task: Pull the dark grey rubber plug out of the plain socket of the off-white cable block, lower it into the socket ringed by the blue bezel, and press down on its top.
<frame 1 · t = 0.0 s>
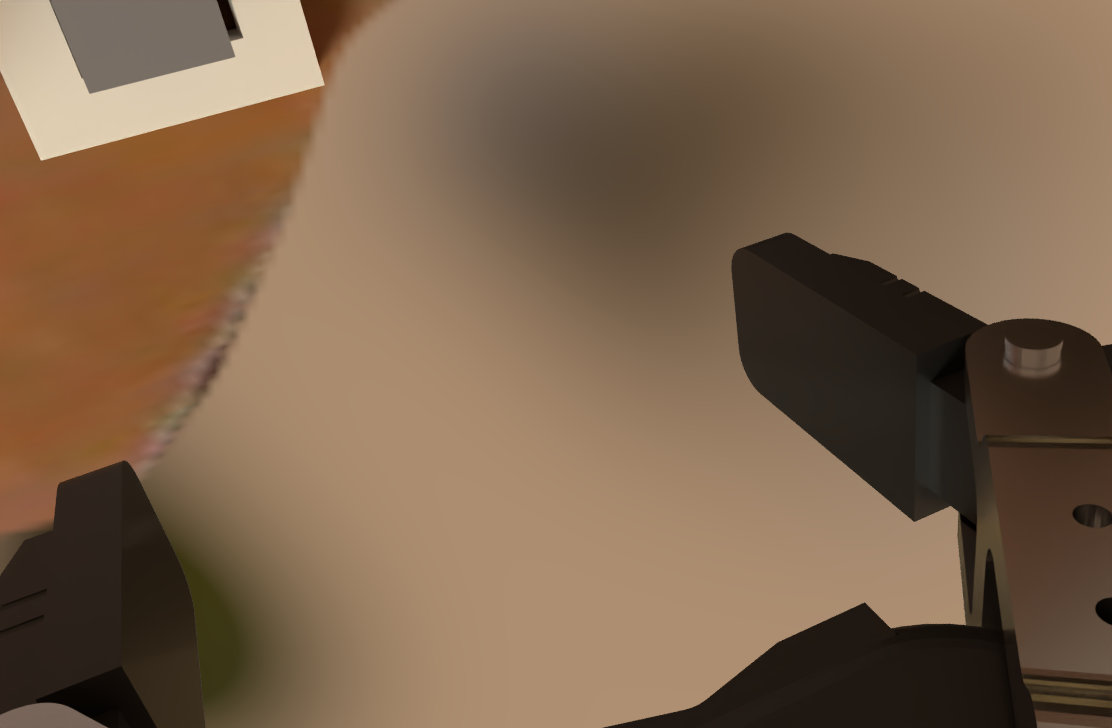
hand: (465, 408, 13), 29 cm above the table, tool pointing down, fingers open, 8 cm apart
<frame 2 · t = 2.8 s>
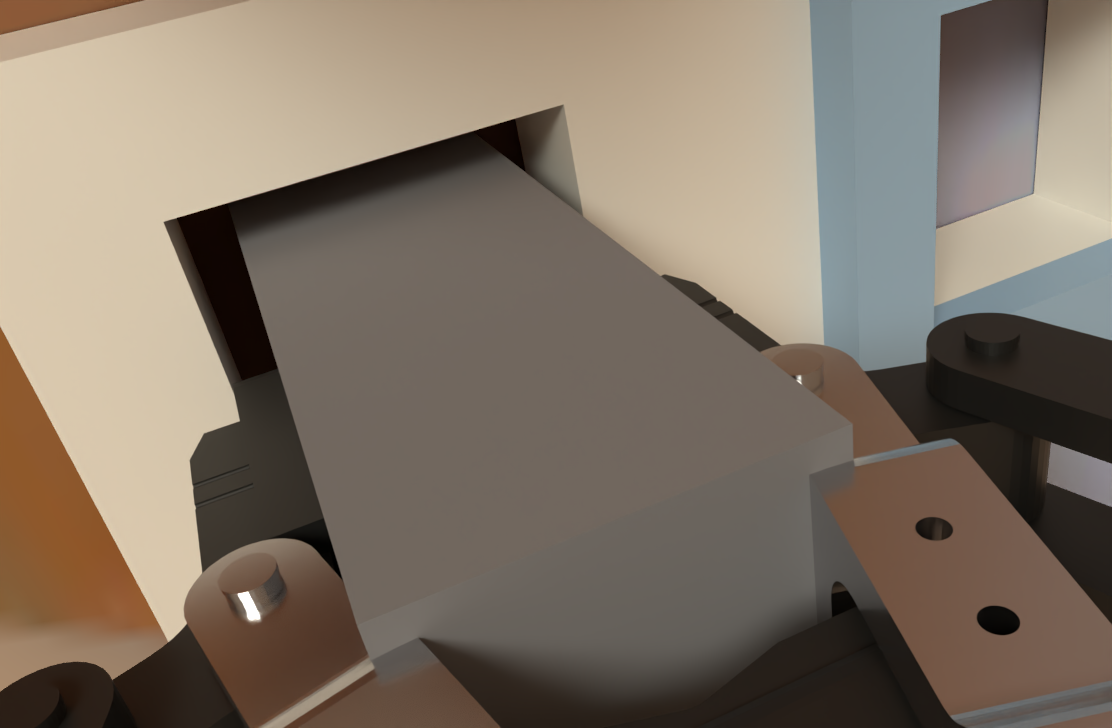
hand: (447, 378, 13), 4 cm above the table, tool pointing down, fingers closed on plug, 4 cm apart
plug: (387, 279, 16), resting in socket block, touching gripper
socket block: (677, 184, 18), on the table
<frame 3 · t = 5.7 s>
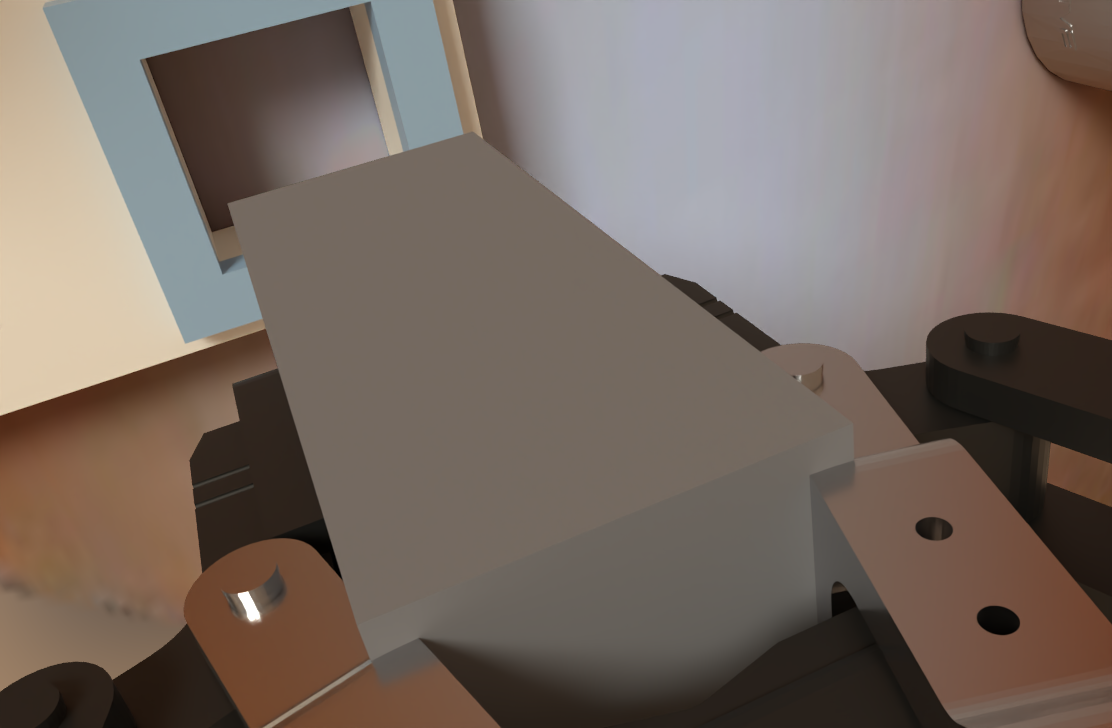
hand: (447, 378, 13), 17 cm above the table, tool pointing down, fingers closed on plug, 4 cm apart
plug: (387, 279, 16), point 13 cm above the table, touching gripper
socket block: (72, 168, 26), on the table
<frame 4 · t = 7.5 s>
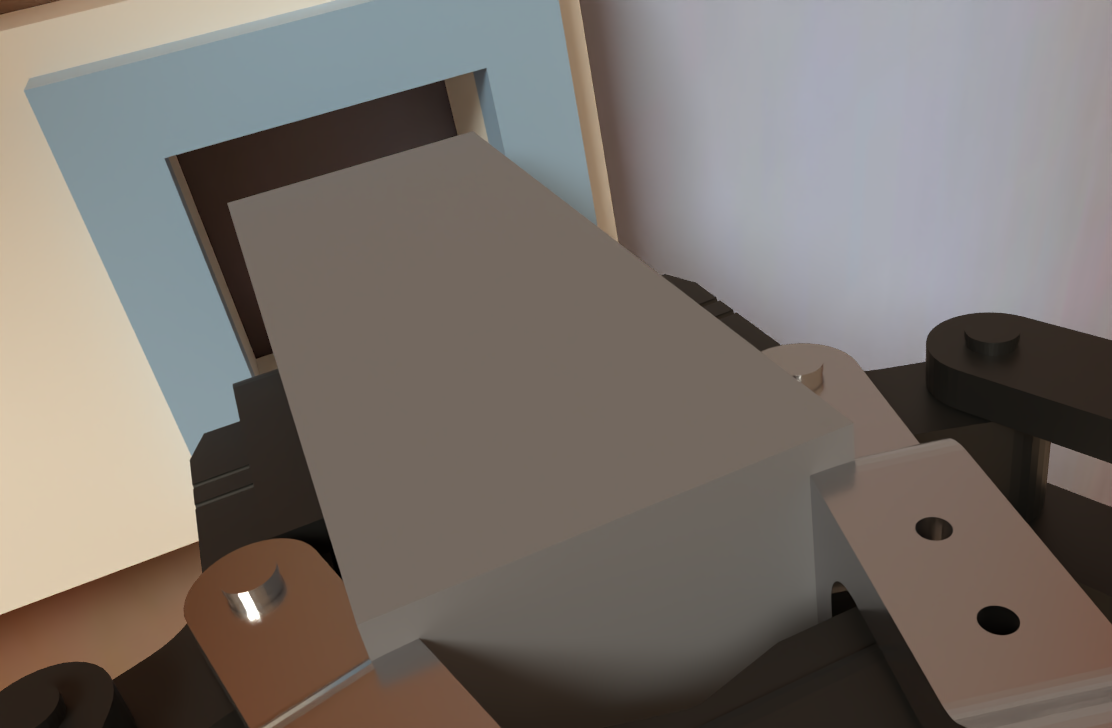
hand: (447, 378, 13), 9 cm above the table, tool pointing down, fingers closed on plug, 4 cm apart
plug: (387, 279, 16), point 5 cm above the table, touching gripper
socket block: (71, 286, 19), on the table
when the fingers open (5 cm above the table, at t = 8.8 s): plug drops 1 cm, resting in socket block.
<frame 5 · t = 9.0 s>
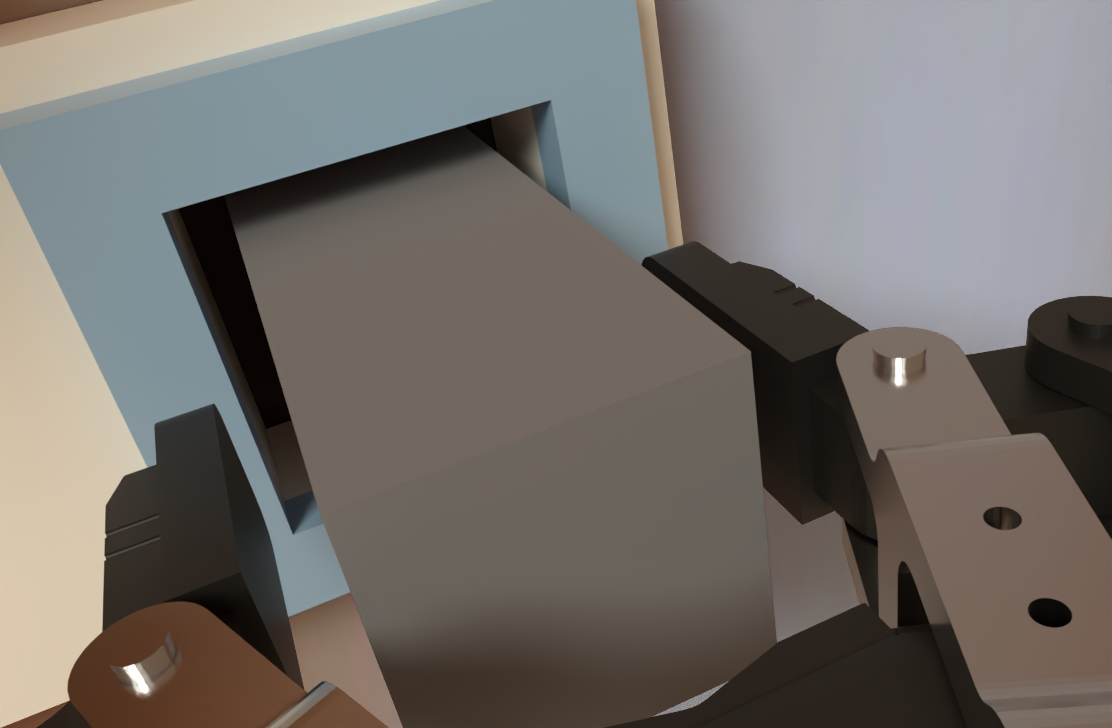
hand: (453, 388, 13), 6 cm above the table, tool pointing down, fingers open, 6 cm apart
plug: (368, 251, 18), resting in socket block
socket block: (50, 352, 16), on the table
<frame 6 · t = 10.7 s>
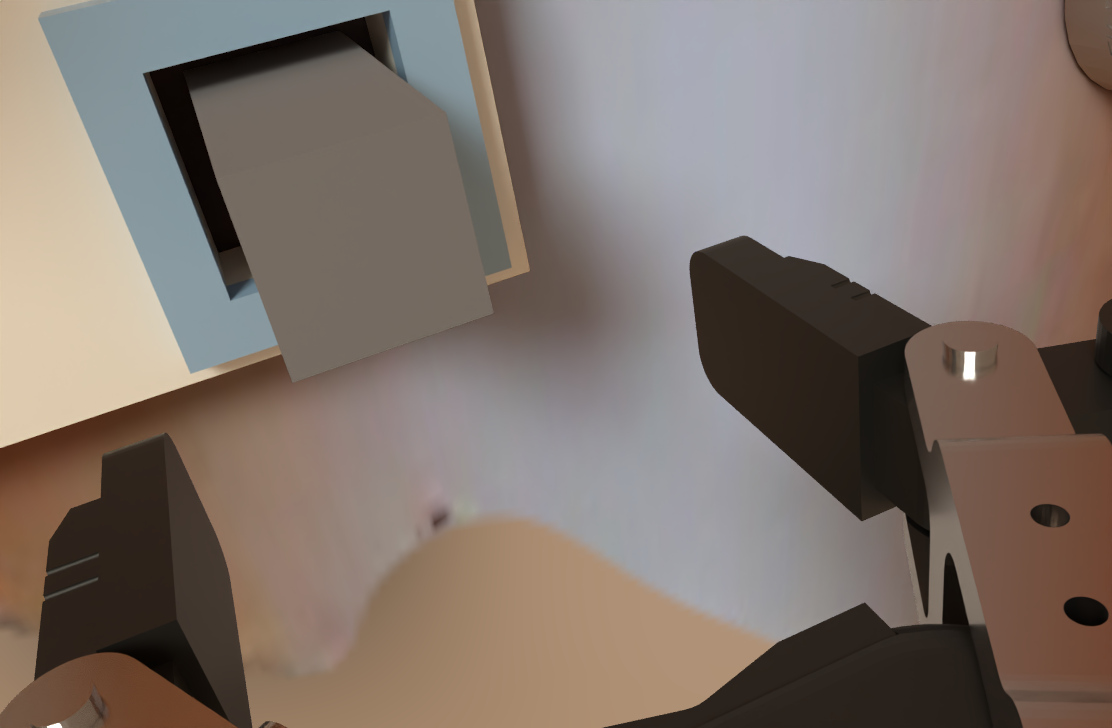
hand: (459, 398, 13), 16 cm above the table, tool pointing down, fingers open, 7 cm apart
plug: (287, 126, 26), resting in socket block
socket block: (70, 186, 25), on the table
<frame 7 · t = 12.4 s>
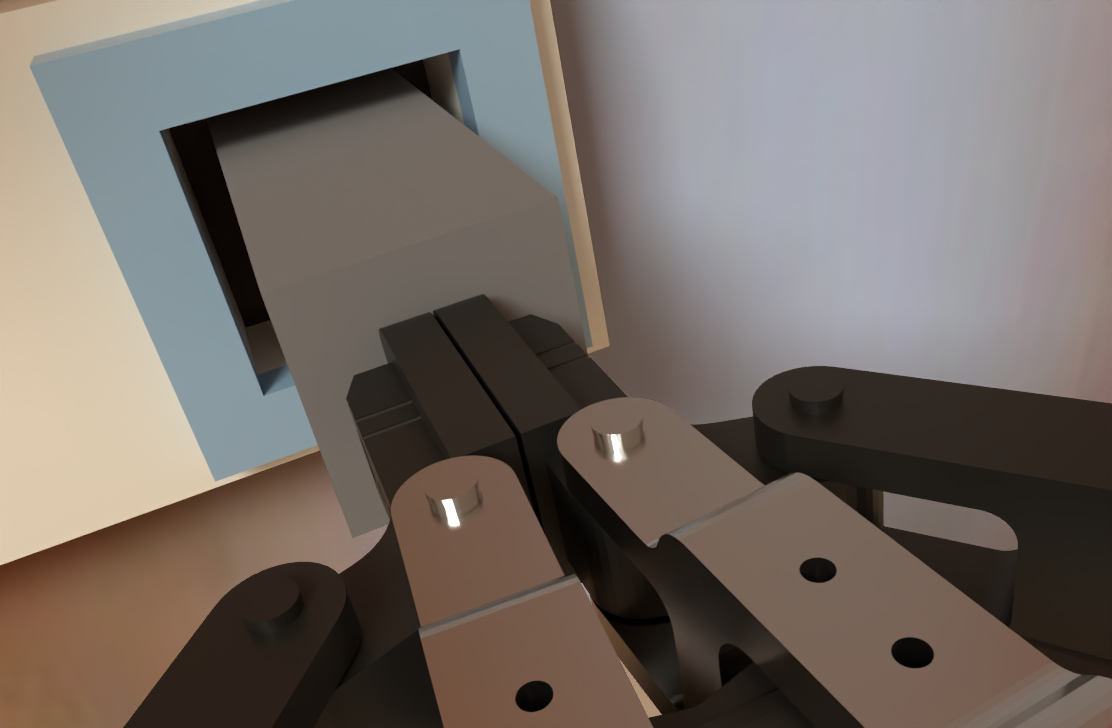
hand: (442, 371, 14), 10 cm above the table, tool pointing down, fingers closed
plug: (328, 180, 22), resting in socket block, touching gripper
socket block: (71, 256, 21), on the table
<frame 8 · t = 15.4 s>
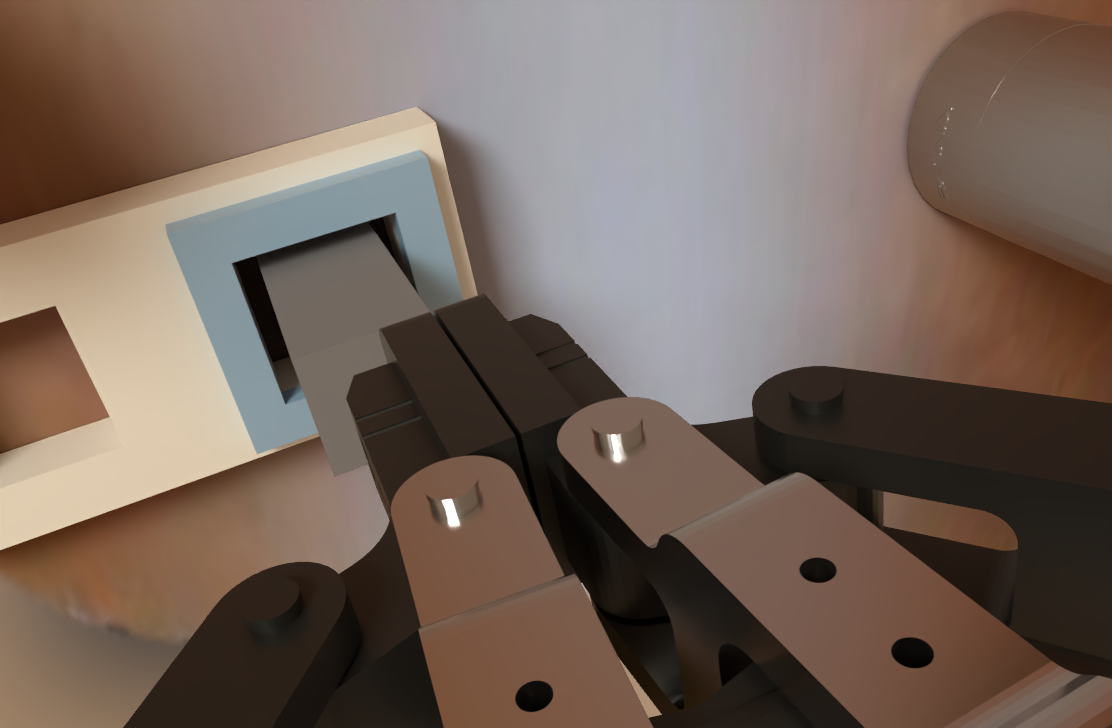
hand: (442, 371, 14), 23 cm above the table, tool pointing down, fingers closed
plug: (322, 275, 36), resting in socket block
socket block: (172, 322, 35), on the table
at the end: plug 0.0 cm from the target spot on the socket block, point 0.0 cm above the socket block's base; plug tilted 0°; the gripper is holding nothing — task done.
